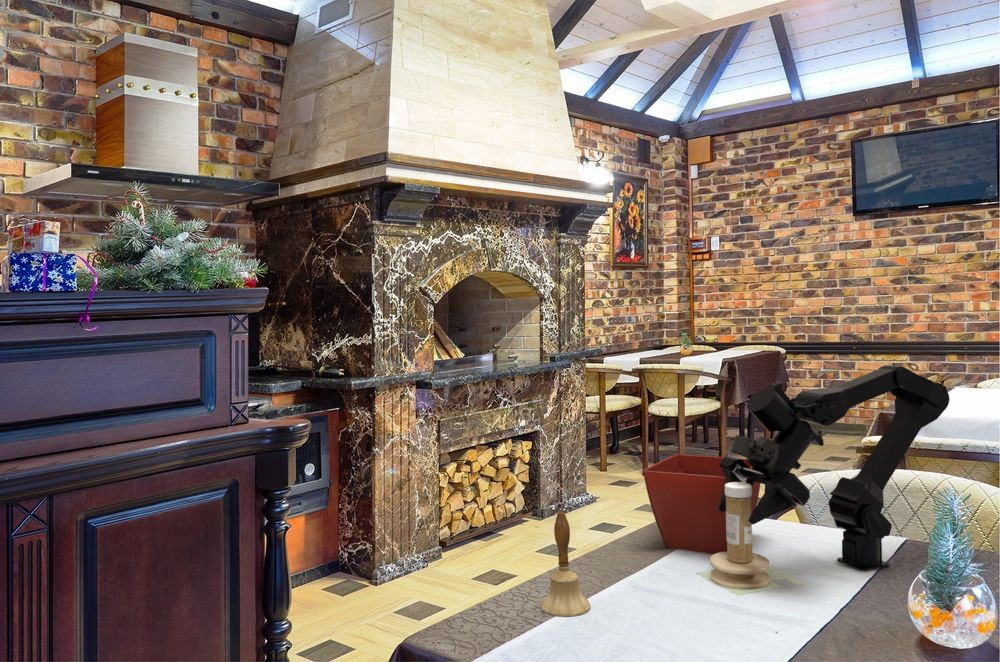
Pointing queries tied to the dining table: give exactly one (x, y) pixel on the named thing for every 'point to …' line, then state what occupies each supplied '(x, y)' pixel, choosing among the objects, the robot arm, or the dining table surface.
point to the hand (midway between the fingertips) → (734, 516)
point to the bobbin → (740, 572)
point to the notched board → (773, 575)
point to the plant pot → (690, 502)
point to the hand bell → (564, 579)
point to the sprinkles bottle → (738, 522)
